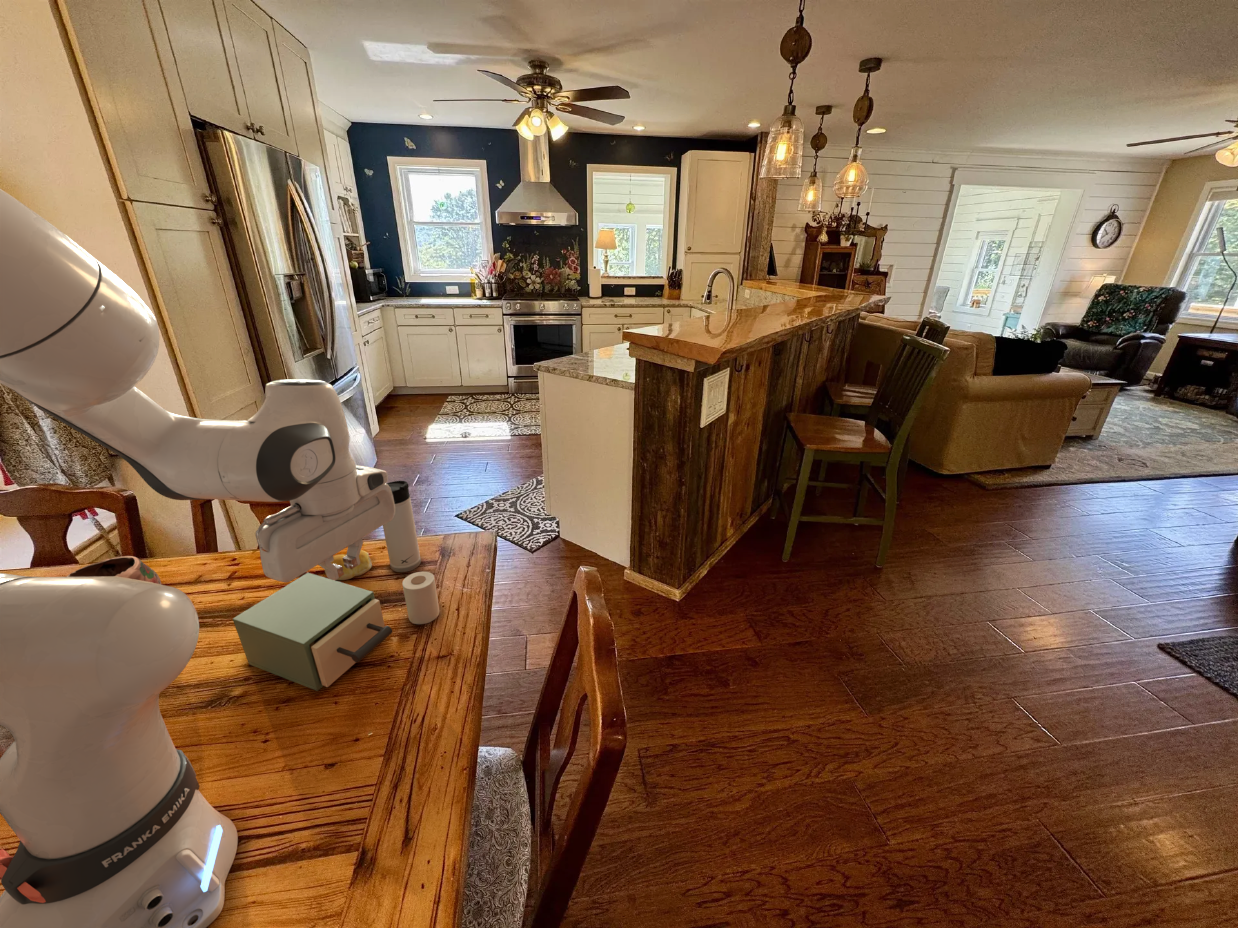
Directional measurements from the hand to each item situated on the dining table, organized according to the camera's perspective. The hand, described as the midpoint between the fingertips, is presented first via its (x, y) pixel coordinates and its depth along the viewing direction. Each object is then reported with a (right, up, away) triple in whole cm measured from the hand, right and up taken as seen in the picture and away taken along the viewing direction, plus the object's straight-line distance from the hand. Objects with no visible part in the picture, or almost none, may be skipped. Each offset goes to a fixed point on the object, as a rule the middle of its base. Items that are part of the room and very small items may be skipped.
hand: (344, 571), depth 75 cm
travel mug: (-5, -6, +35) cm, 36 cm away
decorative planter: (-47, -14, +14) cm, 51 cm away
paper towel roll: (+5, -13, +20) cm, 24 cm away
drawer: (-6, -16, +9) cm, 19 cm away
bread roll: (-17, -7, +33) cm, 37 cm away
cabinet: (-11, -16, +11) cm, 22 cm away
